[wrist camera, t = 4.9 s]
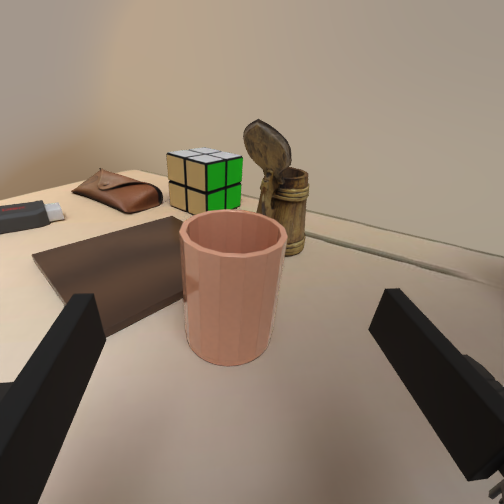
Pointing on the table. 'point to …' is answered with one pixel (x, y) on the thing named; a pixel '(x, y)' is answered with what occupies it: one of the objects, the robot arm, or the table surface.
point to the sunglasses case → (120, 192)
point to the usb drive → (28, 216)
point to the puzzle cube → (204, 180)
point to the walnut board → (120, 271)
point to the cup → (231, 283)
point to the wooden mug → (279, 182)
